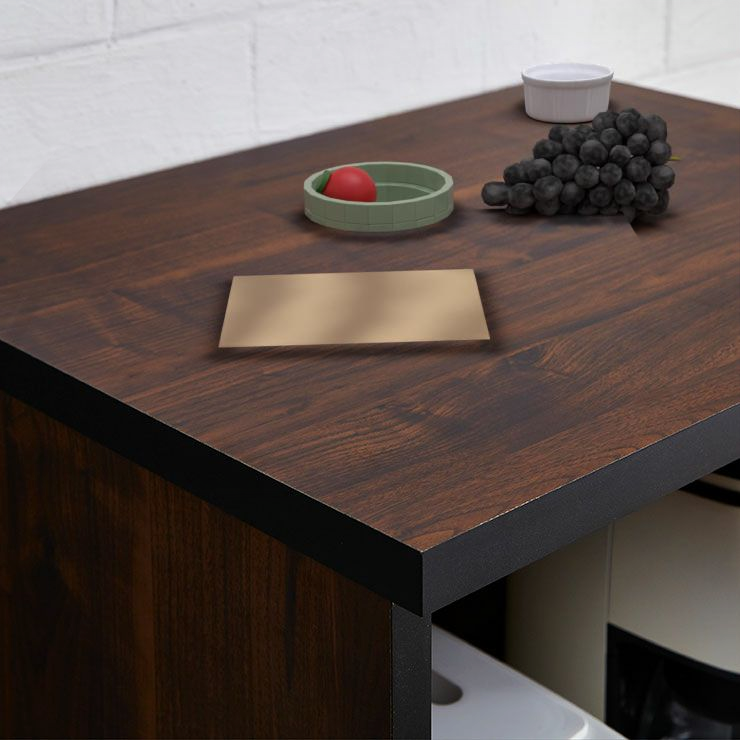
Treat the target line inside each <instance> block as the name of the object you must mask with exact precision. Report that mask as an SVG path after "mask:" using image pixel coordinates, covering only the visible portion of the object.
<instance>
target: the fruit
mask: <svg viewBox="0 0 740 740" xmlns="http://www.w3.org/2000/svg"><path fill="white" fill-rule="evenodd" d="M667 138H668V125H667V122H666V121H665V120H664V119H663V118H661V116H660V115H658V114H654V113H652V112H649V113H644V114H642V113H641V112H640V111H638V110H637V108H635V107H626V108H623V109H622V110H620V112H619V111H617V110H616V109H614V108H613V109H607V111H605V112H599V113H598V114H597V115H596V116H595V117H594V119H593V120H591V126H589V125H588V124H583V123H582V124H578V125H577V126H575V127H574V128H571V129H570V128H569V127H568V126H567V125H566V124H556V125H554V126H553V127H552V128H550V130H549V131H548V134H547V138H541V139H539V140H537V141H536V142H535V144H534V145H533V148H532V156H526V157H523V159H521V160H520V162H519V163H518V162H513V163H511V164H508V165H507V166H506V167H505V168H504V169H503V175H502V179H503V181H499V180H497V181H496V180H493V181H489V182H486V183H484V185H483V186H482V189H481V193H480V196H481V198H482V201H483V204H485V205H487V206H489V207H504V206H506V207H505V209H504V212H505V213H508V214H511V215H523V214H527V213H529V212H532V211H533V209H535V210H536V211H537V213H538V214H540V215H543V216H553V215H555V214H556V213H560V214H572V213H573V212H576V209H577V213H578V214H581V215H586V216H592V215H597V214H598V213H600V214H602V215H607V216H615V215H618V214H619V212H622V213H623V215H624V217H625V218H626V220H627V222H628V224H632V222H633V221H634V219H636V218H638V217H639V216H640V215H642V214H643V213H644V212H647V213H648V214H650V215H652V216H658V215H661V214H663V213H665V212H667V211H668V209H669V204H670V200H671V197H670V192H669V189H670V188H672V187H673V185H674V184H675V180H676V173H675V170H674V169H673V168H672V167H671V166H669V165H667V163H668V162H678V163H679V162H683V160H682V159H681V158H680V157H678V156H673V153H672V152H673V151H672V146H671V145H670V144H669V142H667Z"/></svg>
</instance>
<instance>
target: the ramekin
mask: <svg viewBox="0 0 740 740" xmlns="http://www.w3.org/2000/svg"><path fill="white" fill-rule="evenodd" d="M614 73H615V71H614V69H613V67H611V66H608V65H606V64H602V63H596V62H587V61H586V62H585V61H553V62H543V63H537V64H532V65H529V66H526V67H524V68H523V69H522V70H521V72H520V74H521V80H522V81H523V91H524V92H523V93H524V94H523V95H524V105H525V106H524V107H525V113H526V115H528V117H530V118H532V119H534V120H537V121H541V122H547V123H556V124H575V123H576V124H577V123H586V122H592V121H593V119H594V117H595V116H596V115H597V114H598V113H599V112H605V111H607V110H609V102H610V94H611V85H612V80H613V78H614Z"/></svg>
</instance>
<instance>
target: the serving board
mask: <svg viewBox="0 0 740 740" xmlns="http://www.w3.org/2000/svg"><path fill="white" fill-rule="evenodd" d="M487 324H488V323H487V320H486V315H485V311H484V308H483V303H482V300H481V294H480V291H479V286H478V283H477V279H476V274H475V270H474V269H473V268H459V269H458V268H456V269H455V268H454V269H427V270H425V269H424V270H395V271H393V270H392V271H391V270H390V271H362V272H361V271H359V272H358V271H357V272H327V273H326V272H325V273H323V272H322V273H294V274H263V275H234V276H232V281H231V286H230V291H229V295H228V300H227V305H226V310H225V314H224V320H223V323H222V328H221V332H220V337H219V341H218V342H219V343H218V348H220V349H221V348H249V347H253V348H254V347H282V346H283V347H284V346H315V345H345V344H346V345H349V344H351V345H353V344H380V343H381V344H382V343H415V342H417V343H418V342H445V341H446V342H447V341H478V340H479V341H481V340H482V341H483V340H491V337H490V332H489V329H488V325H487Z"/></svg>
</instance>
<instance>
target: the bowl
mask: <svg viewBox="0 0 740 740" xmlns="http://www.w3.org/2000/svg"><path fill="white" fill-rule="evenodd" d="M342 167H356V168H359V169H362V170H363V171H365V172H366V173H367V174H368V175H369V176H370V177H371V178H372V180H373V181H374V183H375V186H376V190H377V199H376V202H370V203H368V202H353V201H344V200H339V199H333V198H329V197H326V196H324V195H321V193H318V192H316V191H315V190H316V187H317V184H318V182H319V180H320V178H321V176H322V174H323V172H324V171H325V170H328V171H330V172H331V173H332V172H333V171H335V170H336V169H339V168H342ZM454 184H455V183H454V180H453V176H452V175H450V174H448V173H447V172H446V171H444V170H442V169H439V168H436V167H433V166H430V165H425V164H417V163H414V162H402V161H401V162H400V161H365V162H356V163H349V164H347V163H346V164H342V165H337V166H333V167H329V168H325V169H322V170H320V171H318V172H315V173H313V174H311V175H310V176H309V177H308V178H306V179H305V180H304V182H303V203H304V204H303V206H304V215H305V216H306V217H307V218H308V219H309V220H310V221H311V222H313V223H316V224H317V225H318V224H319V225H321V226H323V227H326V228H331V229H337V230H341V231H350V232H361V233H383V232H388V233H389V232H397V231H407V230H412V229H418V228H423V227H425V226H429V225H433V224H434V225H435V224H436V223H438V222H441V221H443V220H444V219H447V218H448V217H449V216H450V215H451V214H452V212H453V211H454V205H455V204H454V201H455V200H454V199H455V195H454V193H455V192H454V188H455V187H454Z"/></svg>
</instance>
